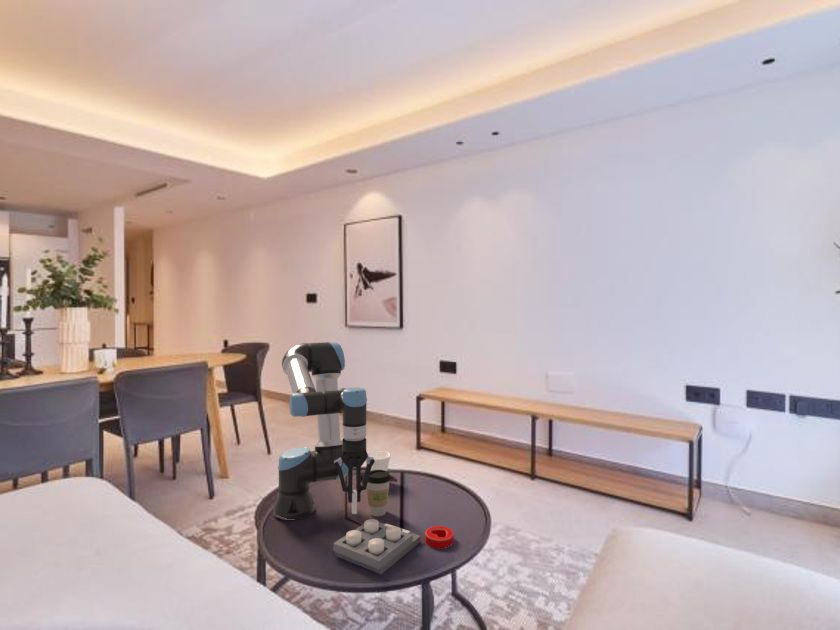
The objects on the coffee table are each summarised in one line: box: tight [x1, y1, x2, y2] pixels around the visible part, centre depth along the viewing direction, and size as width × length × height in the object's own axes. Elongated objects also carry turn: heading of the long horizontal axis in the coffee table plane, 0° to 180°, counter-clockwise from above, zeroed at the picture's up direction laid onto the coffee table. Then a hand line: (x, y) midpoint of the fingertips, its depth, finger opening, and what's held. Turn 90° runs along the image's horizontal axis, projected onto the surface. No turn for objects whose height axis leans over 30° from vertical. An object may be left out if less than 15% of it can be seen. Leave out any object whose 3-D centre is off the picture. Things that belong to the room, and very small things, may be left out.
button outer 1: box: [368, 538, 384, 556], centre depth 140 cm, size 5×5×3 cm
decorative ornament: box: [424, 525, 455, 550], centre depth 154 cm, size 10×10×3 cm
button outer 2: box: [386, 525, 401, 543], centre depth 148 cm, size 5×5×3 cm
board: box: [332, 521, 422, 575], centre depth 149 cm, size 18×23×4 cm
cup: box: [364, 450, 391, 471], centre depth 204 cm, size 12×12×12 cm
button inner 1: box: [345, 529, 361, 547], centre depth 145 cm, size 5×5×3 cm
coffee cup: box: [366, 470, 392, 517], centre depth 175 cm, size 10×10×15 cm
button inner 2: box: [363, 518, 380, 535], centre depth 153 cm, size 5×5×3 cm
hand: (354, 511), depth 145 cm, fingers closed
